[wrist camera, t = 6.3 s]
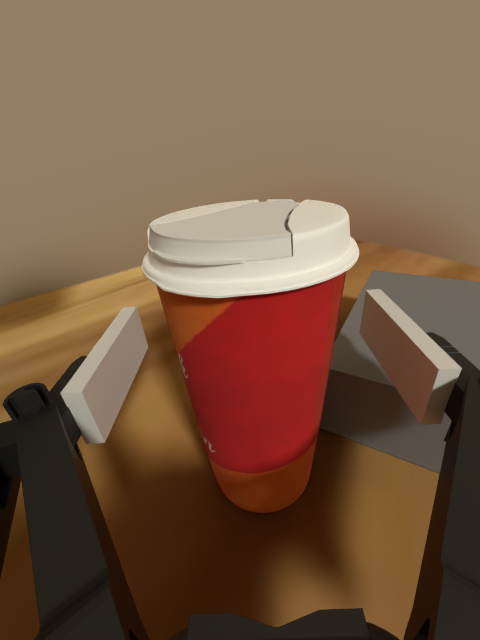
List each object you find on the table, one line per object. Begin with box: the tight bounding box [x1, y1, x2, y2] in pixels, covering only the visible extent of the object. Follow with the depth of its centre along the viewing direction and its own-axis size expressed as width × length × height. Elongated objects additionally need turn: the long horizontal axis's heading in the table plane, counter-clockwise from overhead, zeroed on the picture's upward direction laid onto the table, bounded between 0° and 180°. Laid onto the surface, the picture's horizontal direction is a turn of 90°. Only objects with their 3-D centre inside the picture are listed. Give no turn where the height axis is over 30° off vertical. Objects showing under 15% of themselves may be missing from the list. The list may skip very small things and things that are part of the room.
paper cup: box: [142, 199, 359, 513], centre depth 14 cm, size 8×8×14 cm
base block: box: [319, 270, 480, 473], centre depth 20 cm, size 16×16×5 cm
